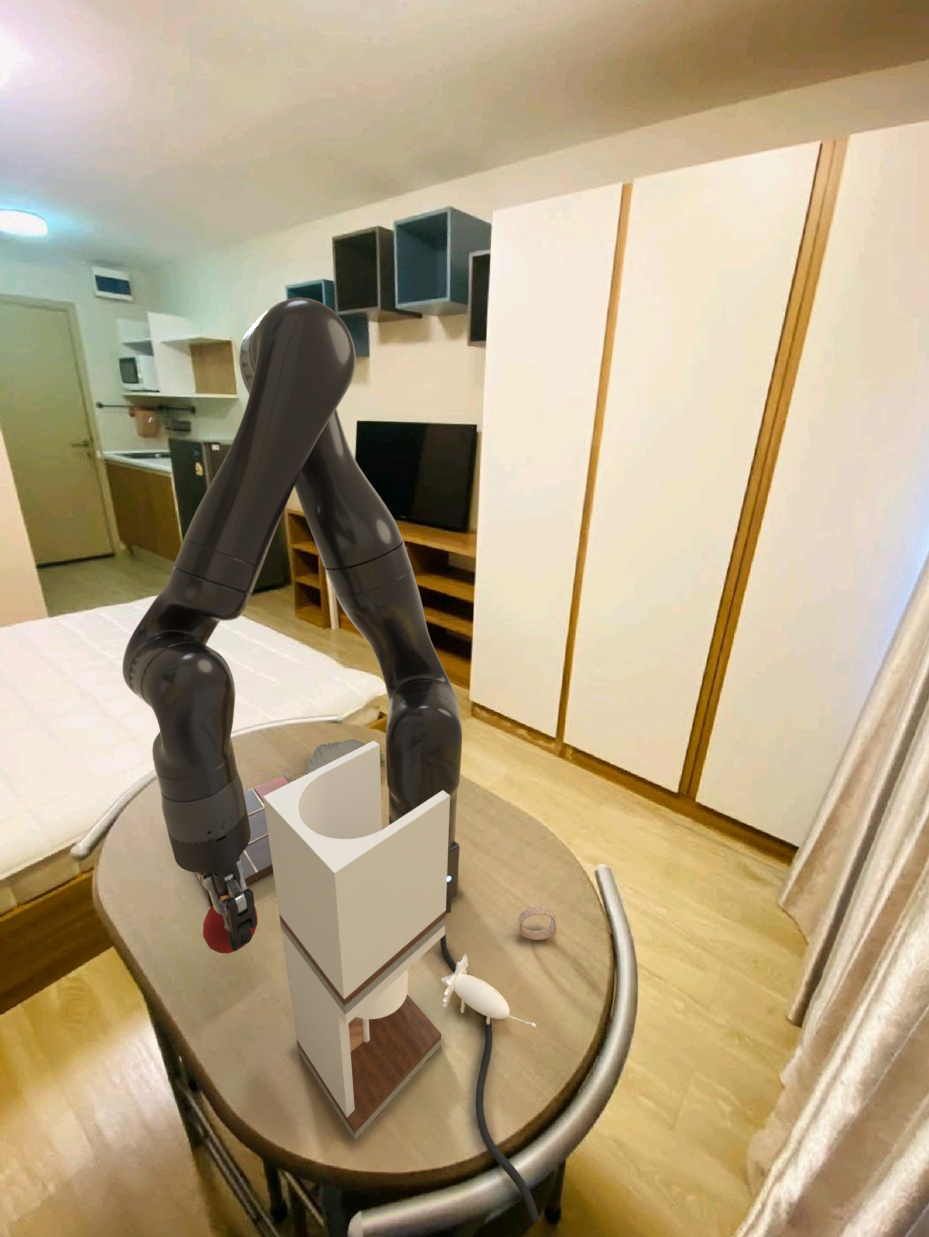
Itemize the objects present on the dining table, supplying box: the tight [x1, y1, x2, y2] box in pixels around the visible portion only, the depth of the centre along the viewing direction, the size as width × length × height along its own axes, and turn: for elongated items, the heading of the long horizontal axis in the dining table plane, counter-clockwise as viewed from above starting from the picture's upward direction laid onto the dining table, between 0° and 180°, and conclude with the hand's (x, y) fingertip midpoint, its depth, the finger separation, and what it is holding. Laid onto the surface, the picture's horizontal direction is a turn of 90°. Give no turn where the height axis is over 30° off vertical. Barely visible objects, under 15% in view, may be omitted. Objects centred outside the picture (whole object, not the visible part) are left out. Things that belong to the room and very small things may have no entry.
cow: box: [440, 953, 537, 1028], centre depth 60 cm, size 12×5×5 cm, turn 59°
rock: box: [305, 738, 383, 775], centre depth 99 cm, size 12×16×5 cm
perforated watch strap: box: [518, 905, 557, 941], centre depth 69 cm, size 3×5×5 cm, turn 91°
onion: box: [202, 895, 259, 954], centre depth 61 cm, size 6×6×8 cm
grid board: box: [240, 774, 291, 887], centre depth 84 cm, size 18×18×2 cm
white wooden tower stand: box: [263, 740, 450, 1141], centre depth 50 cm, size 11×11×35 cm
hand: (230, 923), depth 61 cm, fingers closed on onion, 6 cm apart
